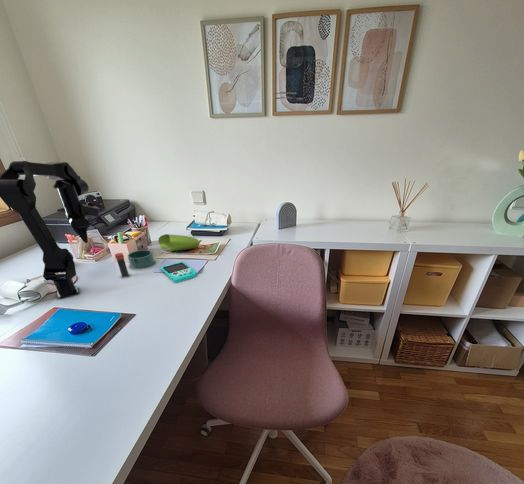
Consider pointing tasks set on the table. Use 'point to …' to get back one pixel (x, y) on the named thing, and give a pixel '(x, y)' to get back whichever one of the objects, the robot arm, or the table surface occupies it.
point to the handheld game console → (179, 271)
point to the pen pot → (141, 259)
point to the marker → (121, 264)
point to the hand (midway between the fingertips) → (84, 239)
